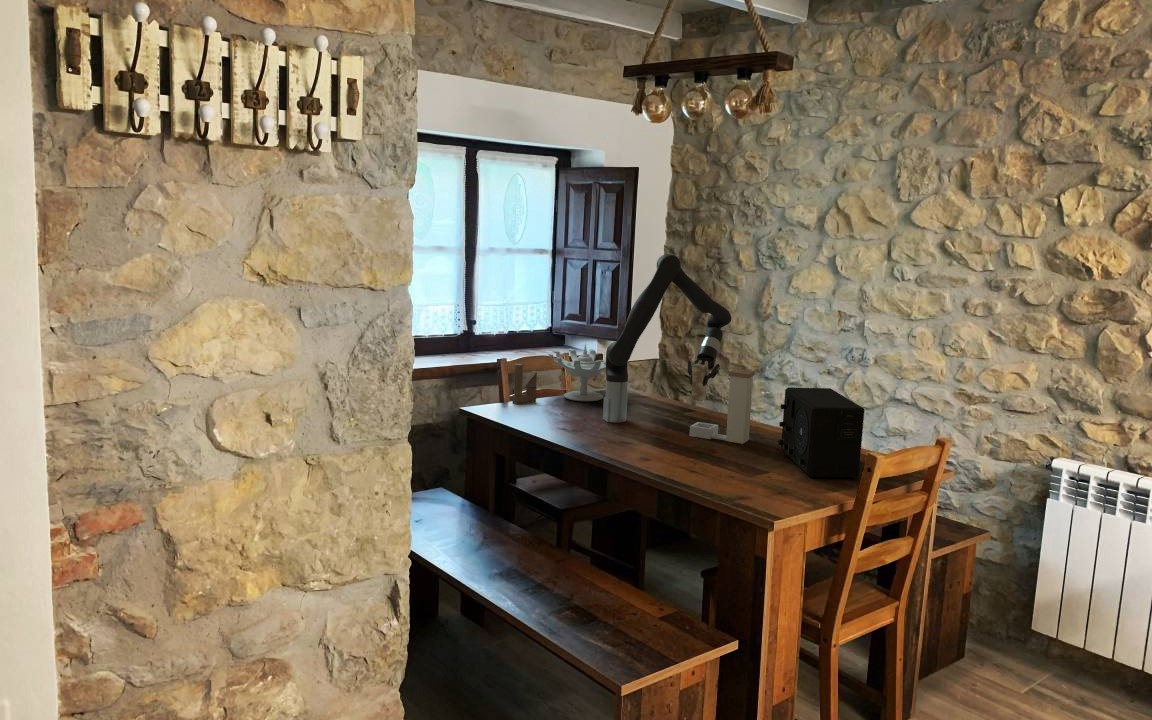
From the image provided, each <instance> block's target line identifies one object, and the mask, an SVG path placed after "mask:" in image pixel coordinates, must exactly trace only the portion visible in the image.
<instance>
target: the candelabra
mask: <svg viewBox="0 0 1152 720" xmlns="http://www.w3.org/2000/svg"><path fill="white" fill-rule="evenodd" d="M586 342H587V341H585V342H584V348H583V351H582V352H583V353H582V354H580V355H579V356H578V354H577V350H576V349H574V348H567V350H568V352H570V353H569V354H570V358H571V360H572V361H567V360H566V359H564V357H562V356H561V353H560V351H559V350H552V353H553V354H552V353H548V354H547V356H549V357H551V360H552V361H553V362H554V363H555V364H556V365H558V366H560V367H562V368H563V369H565V370H566V371H567V373H568V374H569V375H571V376H575V377H579V379H580V389H579V390H574V391H568V392H566V393H563V397H564V398H565V399H567V400H570V401H575V402H596V401H600V400H602V399H604V395H603V394H602V393H599V392H595V391H589V390H588V382H589V378H590V377H598V376H600V375H601V374H602V372H603V371H604V370H605V371H606V357H605V358H603V359H599V360H595V359H596V357H597V352H596V350H595V349H593V348H589V349H588V351H589V354H588V351H587V343H586ZM554 354H555V356H556V358H555V357H554Z"/></svg>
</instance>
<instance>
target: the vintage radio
mask: <svg viewBox="0 0 1152 720" xmlns="http://www.w3.org/2000/svg"><path fill="white" fill-rule="evenodd" d="M780 410H783V417H782V421H779V422H778V423H779V427H781V428H782V431H781V439H778V440H777V445H779V446H780V450H782V451H783V453H784V454H785V455H787V456H788V458H790V460H792V461H793V462H794V463H795V464H796V465H797V466H798V467H800V468H801V470H802V471H803V472H804V473H805V474H806V475H808V476H810V477H809V478H812V477H816V478H845V479H852V478H859V476H860V475H859V474H860V464H861V455H862V454H861V453H862V444H863V443H862V442H863V434H864V433H863V431H864V421H865V420H864V419H865V408H864V407H862V406H861V405H859V404H857V403H855V402H854V401H852V400H850V399H849V398H847V397H846V396H844V395H843V394H841V393H840V392H837V391H835V390H834V389H832V388H831V387H830V388H829V387H790V386H789V387H786V388H785V390H784V402H783V404H782V403H781V404H780Z"/></svg>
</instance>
